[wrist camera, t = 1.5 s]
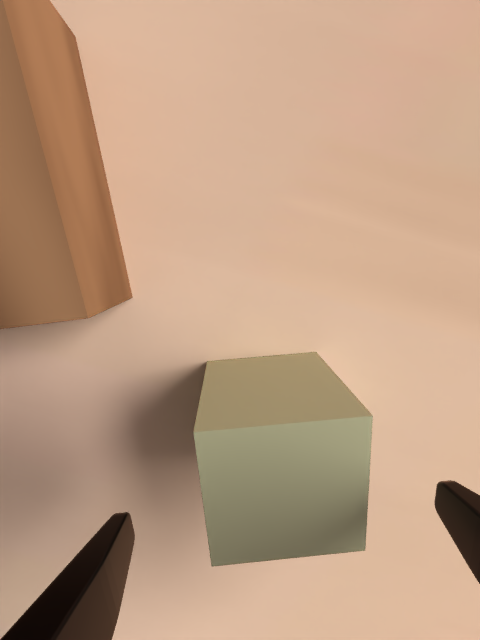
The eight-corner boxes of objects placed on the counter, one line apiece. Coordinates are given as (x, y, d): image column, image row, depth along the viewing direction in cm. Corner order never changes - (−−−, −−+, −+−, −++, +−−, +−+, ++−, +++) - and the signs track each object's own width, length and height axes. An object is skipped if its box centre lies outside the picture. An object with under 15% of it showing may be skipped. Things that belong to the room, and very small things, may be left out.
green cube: (217, 452, 13) (211, 566, 8) (207, 360, 12) (193, 432, 7) (315, 443, 13) (364, 549, 9) (315, 351, 12) (372, 415, 7)
